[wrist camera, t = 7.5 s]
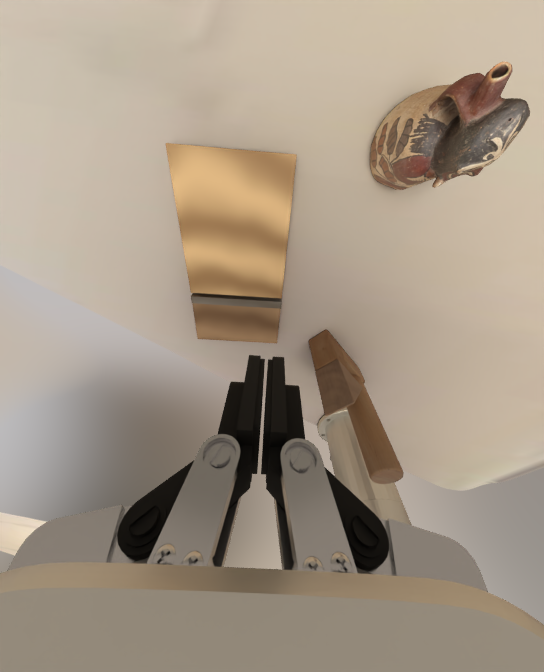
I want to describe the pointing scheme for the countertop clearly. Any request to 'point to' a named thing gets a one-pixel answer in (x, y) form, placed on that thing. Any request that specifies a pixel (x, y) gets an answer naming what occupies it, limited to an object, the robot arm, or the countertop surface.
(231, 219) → the oak plank
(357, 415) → the wooden block stack
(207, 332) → the brown flat block
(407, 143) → the figurine
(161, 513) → the robot arm
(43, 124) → the countertop surface
